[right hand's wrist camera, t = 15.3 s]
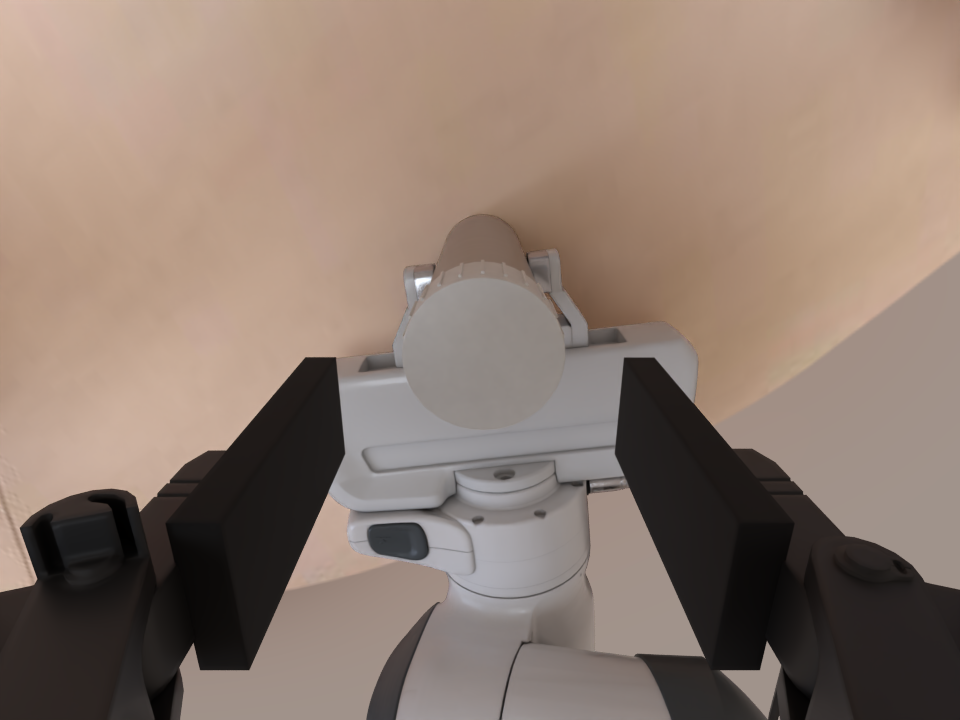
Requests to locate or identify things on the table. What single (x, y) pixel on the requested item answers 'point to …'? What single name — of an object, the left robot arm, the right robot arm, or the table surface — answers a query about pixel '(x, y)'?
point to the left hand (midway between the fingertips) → (479, 259)
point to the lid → (483, 346)
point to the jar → (482, 245)
